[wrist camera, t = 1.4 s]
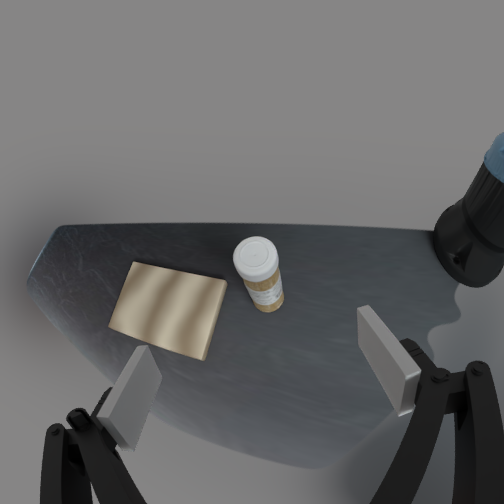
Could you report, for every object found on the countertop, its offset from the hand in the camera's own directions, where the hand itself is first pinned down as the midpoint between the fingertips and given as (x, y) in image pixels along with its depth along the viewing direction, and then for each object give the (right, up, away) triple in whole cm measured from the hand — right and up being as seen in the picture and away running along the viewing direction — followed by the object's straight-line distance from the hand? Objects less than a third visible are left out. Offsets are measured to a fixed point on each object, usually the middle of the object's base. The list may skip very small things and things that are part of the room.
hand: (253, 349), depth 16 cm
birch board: (-13, -3, +26) cm, 29 cm away
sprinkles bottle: (+2, -1, +24) cm, 24 cm away
